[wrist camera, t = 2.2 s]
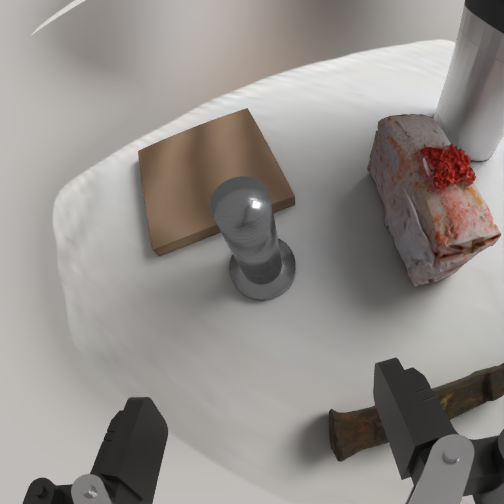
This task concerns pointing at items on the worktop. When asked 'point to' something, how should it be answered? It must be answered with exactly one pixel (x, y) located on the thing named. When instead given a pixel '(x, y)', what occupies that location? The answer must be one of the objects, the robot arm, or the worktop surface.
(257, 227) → the round metal knob
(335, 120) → the worktop surface
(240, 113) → the walnut board
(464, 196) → the food item
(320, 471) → the worktop surface
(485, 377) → the hand tool
